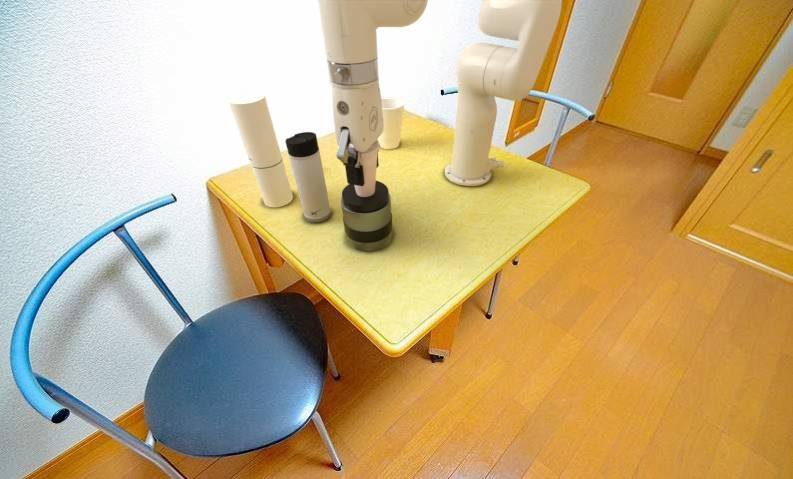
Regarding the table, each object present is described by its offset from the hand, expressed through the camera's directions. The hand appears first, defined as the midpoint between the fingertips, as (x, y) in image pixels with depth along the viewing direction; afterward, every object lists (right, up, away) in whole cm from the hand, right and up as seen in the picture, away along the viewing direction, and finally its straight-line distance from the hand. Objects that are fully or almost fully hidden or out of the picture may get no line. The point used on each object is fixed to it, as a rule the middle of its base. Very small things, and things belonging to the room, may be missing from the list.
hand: (363, 174), depth 61 cm
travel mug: (-12, -7, +16) cm, 22 cm away
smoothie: (0, -3, +3) cm, 4 cm away
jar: (0, -12, +10) cm, 15 cm away
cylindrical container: (-24, -2, +22) cm, 32 cm away
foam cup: (+4, +18, +43) cm, 47 cm away
